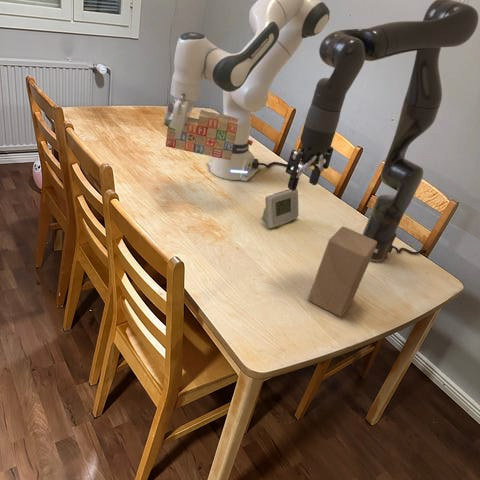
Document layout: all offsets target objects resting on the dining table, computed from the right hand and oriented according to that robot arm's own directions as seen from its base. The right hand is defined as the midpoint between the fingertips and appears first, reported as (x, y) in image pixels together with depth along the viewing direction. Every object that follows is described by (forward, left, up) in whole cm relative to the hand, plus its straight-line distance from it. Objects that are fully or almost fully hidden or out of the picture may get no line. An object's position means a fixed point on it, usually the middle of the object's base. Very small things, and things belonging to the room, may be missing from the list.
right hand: (302, 186), depth 113 cm
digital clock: (-14, -27, -28) cm, 41 cm away
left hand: (+20, -45, -5) cm, 49 cm away
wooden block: (-10, +14, -28) cm, 33 cm away
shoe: (-1, -108, -28) cm, 112 cm away
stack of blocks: (+14, -42, -9) cm, 45 cm away
